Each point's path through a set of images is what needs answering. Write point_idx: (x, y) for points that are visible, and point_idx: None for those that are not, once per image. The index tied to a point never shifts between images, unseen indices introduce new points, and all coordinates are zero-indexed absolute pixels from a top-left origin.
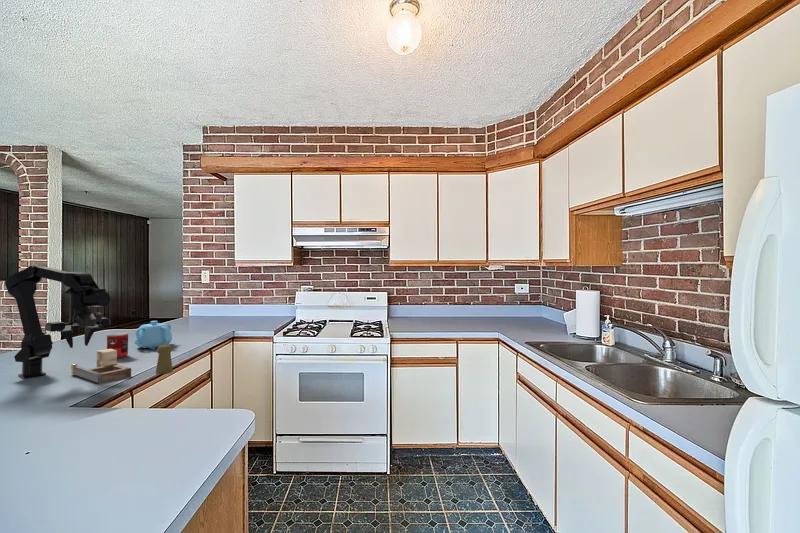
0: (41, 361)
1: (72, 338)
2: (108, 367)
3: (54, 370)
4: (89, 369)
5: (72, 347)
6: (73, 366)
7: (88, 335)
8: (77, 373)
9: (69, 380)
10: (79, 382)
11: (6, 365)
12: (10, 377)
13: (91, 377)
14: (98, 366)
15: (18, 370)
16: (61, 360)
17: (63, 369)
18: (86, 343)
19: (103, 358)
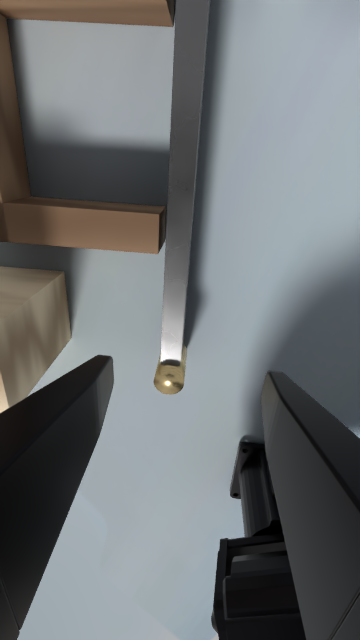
0: (260, 514)
1: (331, 465)
2: (33, 203)
3: (184, 475)
4: (147, 232)
5: (269, 371)
6: (179, 366)
7: (22, 450)
8: (186, 298)
9: (248, 252)
10: (248, 143)
11: None
12: None
13: (204, 66)
14: (58, 331)
15: None
16: (103, 566)
17: (156, 463)
18: (103, 369)
19: (15, 306)
